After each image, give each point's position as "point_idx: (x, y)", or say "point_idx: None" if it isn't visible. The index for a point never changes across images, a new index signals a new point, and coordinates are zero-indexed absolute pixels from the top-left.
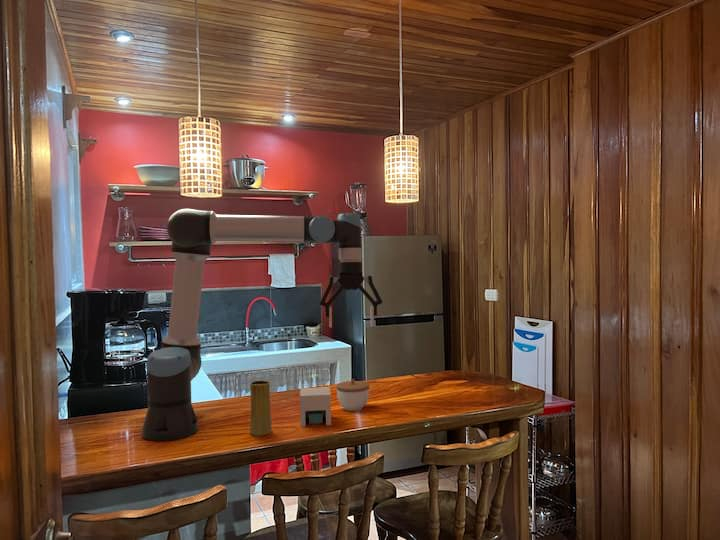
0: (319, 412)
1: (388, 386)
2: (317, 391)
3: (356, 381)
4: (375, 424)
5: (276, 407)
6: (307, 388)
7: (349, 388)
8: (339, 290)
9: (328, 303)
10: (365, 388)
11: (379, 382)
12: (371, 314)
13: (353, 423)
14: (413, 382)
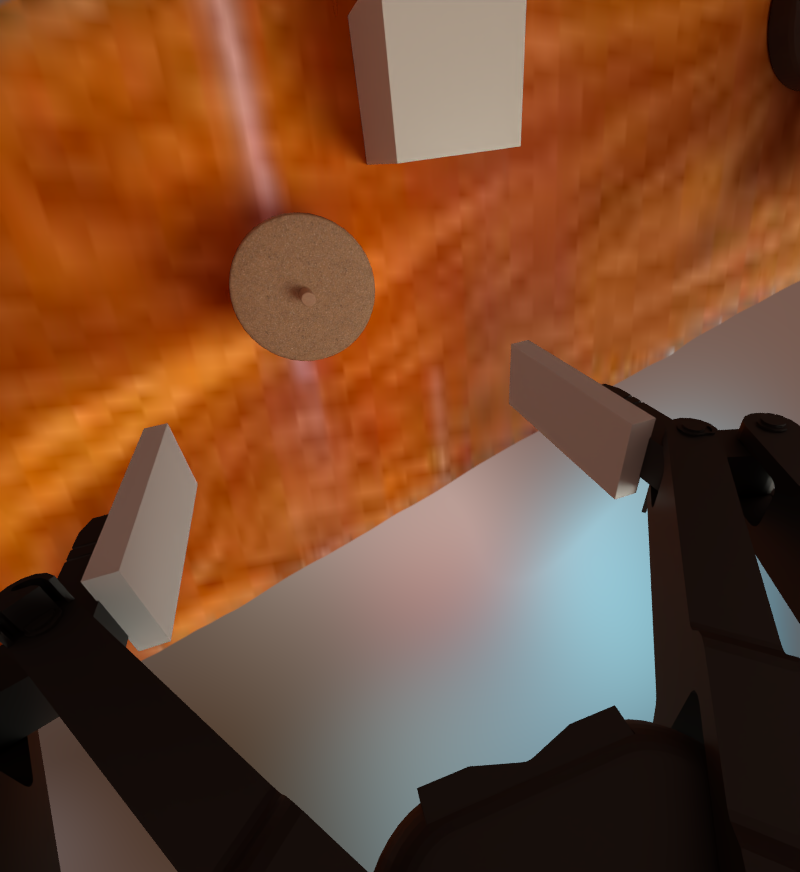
0: None
1: (222, 531)
2: (448, 64)
3: (297, 344)
4: (148, 5)
5: (542, 277)
6: (492, 141)
7: (309, 217)
8: (738, 641)
9: (701, 444)
10: (238, 248)
11: (261, 563)
12: (142, 493)
13: (256, 37)
14: None
